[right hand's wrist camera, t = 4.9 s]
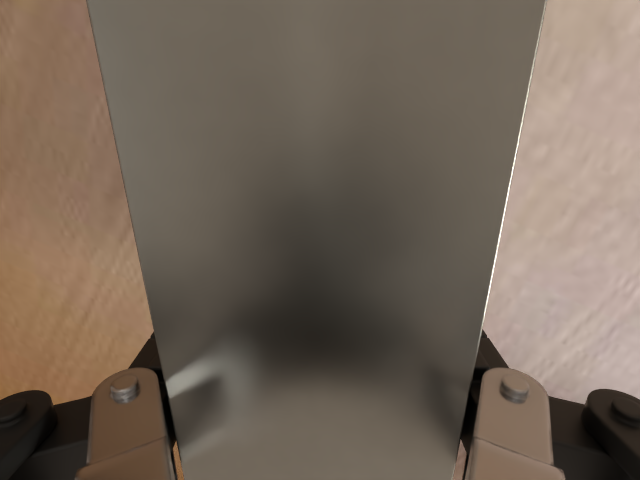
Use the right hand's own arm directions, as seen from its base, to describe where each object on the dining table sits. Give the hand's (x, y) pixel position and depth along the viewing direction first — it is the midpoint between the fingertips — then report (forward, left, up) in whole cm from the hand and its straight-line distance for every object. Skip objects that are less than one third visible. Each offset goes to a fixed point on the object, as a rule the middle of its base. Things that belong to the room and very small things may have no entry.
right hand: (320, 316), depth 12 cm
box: (+10, 0, -9) cm, 13 cm away
